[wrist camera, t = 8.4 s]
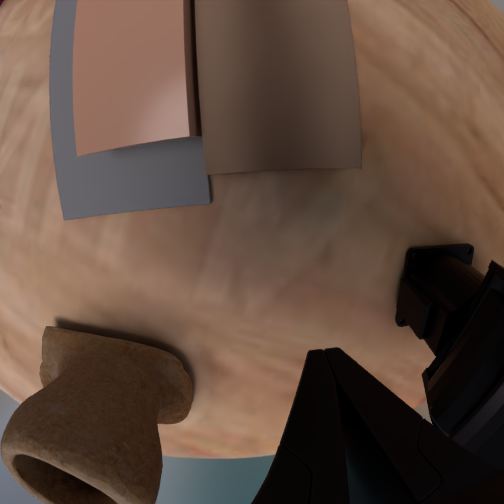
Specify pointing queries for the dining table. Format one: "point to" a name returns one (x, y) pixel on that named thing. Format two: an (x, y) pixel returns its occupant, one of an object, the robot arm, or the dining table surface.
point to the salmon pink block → (134, 74)
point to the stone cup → (96, 420)
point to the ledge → (277, 85)
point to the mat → (114, 152)
